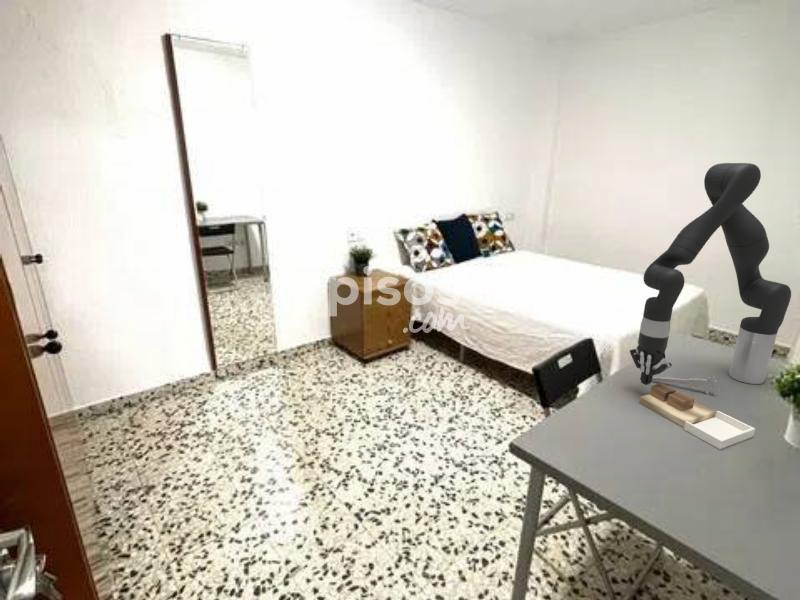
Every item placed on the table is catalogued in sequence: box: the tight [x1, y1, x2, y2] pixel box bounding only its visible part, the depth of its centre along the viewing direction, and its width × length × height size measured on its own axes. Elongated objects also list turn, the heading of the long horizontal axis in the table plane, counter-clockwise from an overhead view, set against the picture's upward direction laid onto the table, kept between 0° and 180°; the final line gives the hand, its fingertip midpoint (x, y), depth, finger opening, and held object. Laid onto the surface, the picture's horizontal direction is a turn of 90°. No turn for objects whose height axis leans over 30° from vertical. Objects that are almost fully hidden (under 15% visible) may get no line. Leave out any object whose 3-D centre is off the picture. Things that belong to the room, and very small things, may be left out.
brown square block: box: [649, 382, 677, 402], centre depth 123 cm, size 4×4×3 cm
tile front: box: [667, 391, 695, 411], centre depth 118 cm, size 4×4×3 cm
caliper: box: [651, 376, 718, 397], centre depth 132 cm, size 20×1×6 cm, turn 55°
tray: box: [683, 410, 756, 450], centre depth 109 cm, size 13×9×2 cm
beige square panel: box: [638, 393, 716, 429], centre depth 120 cm, size 12×14×2 cm
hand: (645, 383), depth 128 cm, fingers closed
